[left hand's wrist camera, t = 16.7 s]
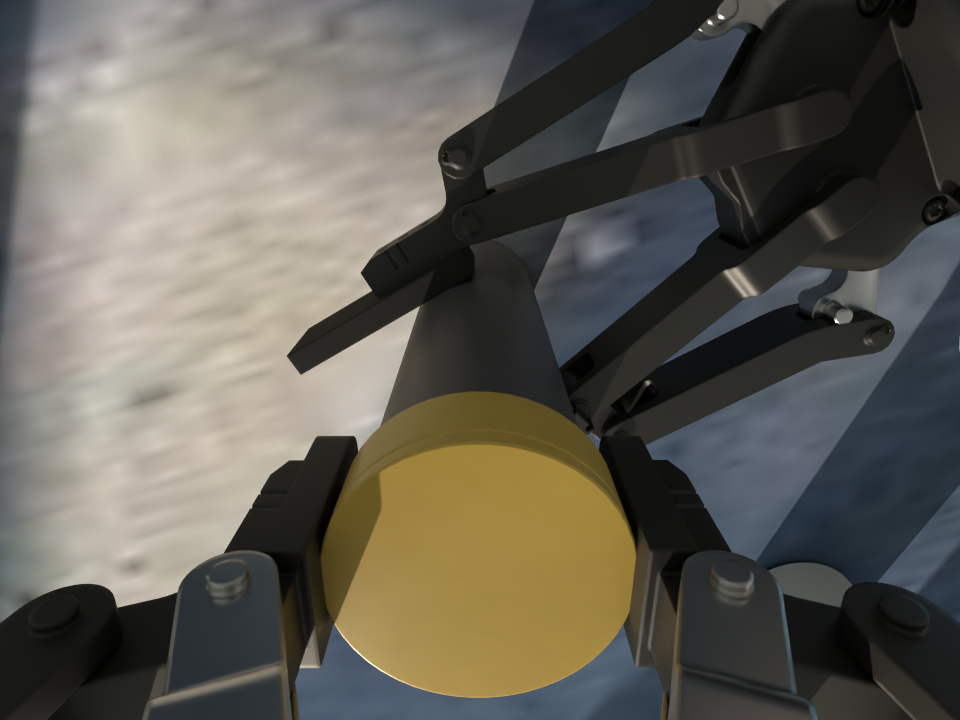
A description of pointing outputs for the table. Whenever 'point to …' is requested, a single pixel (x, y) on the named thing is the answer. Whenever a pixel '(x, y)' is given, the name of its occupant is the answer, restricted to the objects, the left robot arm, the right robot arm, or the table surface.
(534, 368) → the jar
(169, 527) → the table surface
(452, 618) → the lid
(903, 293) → the table surface
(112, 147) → the table surface
